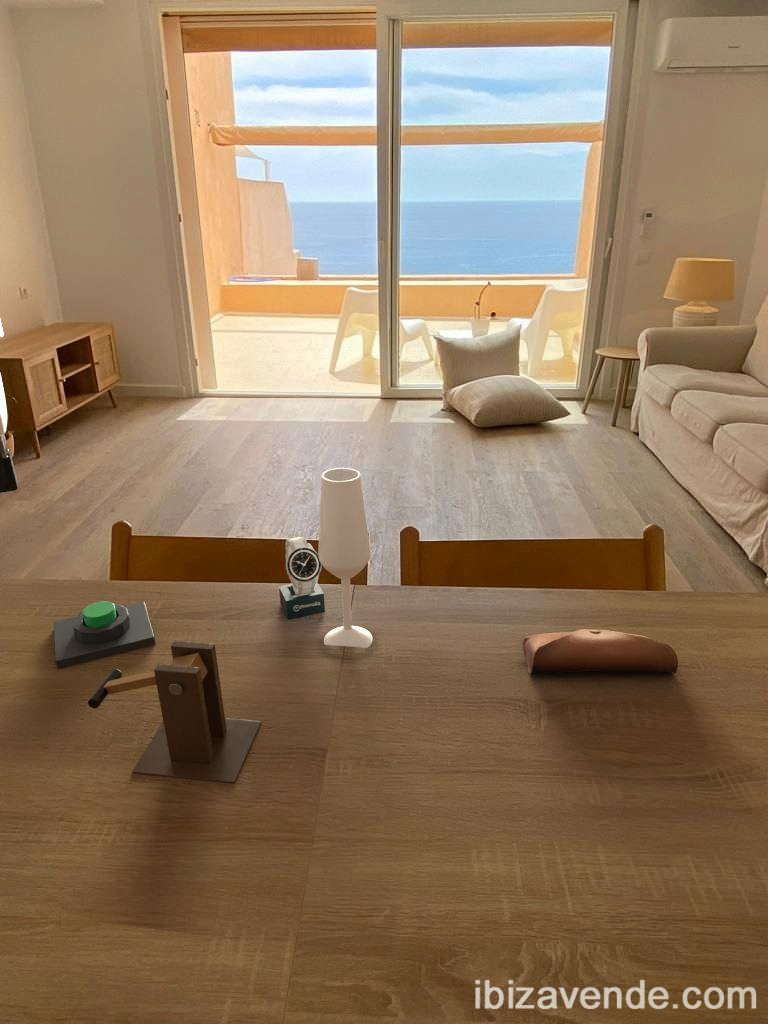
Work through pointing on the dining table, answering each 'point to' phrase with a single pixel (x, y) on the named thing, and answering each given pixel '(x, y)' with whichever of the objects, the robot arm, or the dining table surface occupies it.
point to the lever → (139, 679)
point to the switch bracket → (195, 724)
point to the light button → (99, 614)
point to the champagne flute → (344, 545)
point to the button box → (102, 636)
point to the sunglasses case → (596, 652)
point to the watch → (301, 580)
